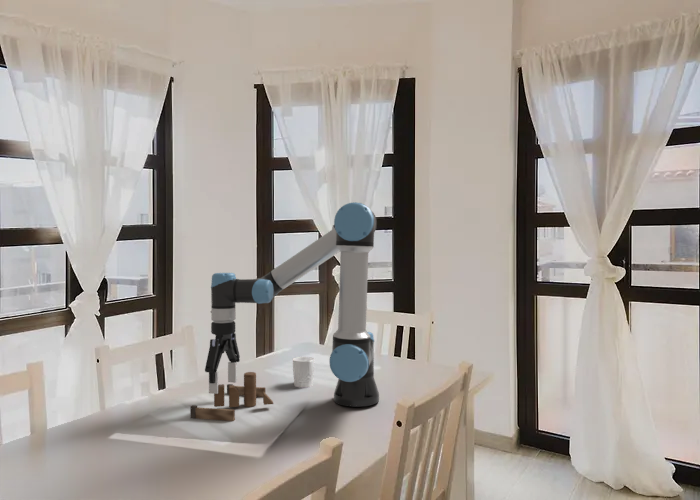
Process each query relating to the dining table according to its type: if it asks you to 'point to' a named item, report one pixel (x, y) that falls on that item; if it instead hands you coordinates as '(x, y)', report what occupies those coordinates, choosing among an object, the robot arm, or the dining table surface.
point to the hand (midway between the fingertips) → (223, 387)
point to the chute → (220, 413)
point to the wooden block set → (234, 393)
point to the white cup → (303, 371)
